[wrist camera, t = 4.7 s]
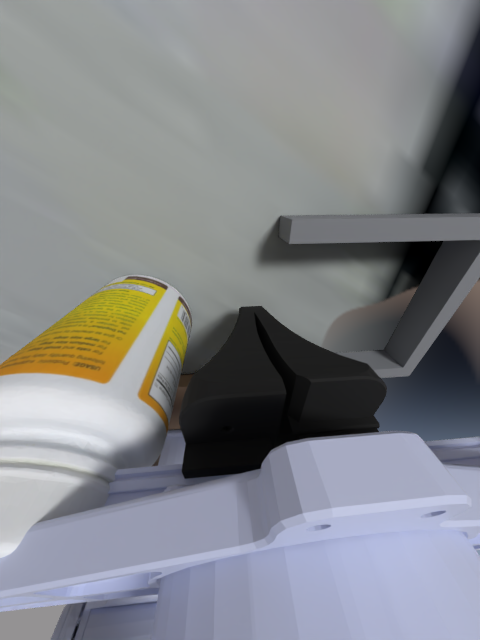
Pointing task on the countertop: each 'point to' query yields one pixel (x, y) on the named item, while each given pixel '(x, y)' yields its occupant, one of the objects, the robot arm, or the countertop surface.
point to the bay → (435, 288)
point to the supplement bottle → (88, 402)
